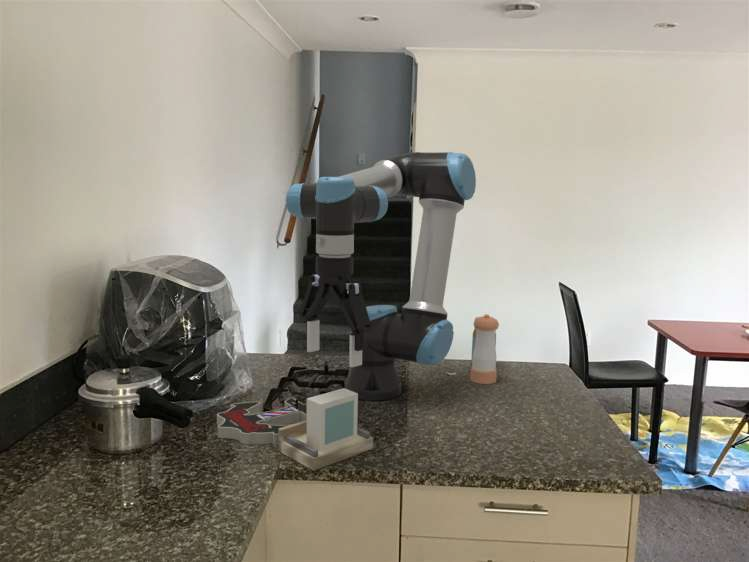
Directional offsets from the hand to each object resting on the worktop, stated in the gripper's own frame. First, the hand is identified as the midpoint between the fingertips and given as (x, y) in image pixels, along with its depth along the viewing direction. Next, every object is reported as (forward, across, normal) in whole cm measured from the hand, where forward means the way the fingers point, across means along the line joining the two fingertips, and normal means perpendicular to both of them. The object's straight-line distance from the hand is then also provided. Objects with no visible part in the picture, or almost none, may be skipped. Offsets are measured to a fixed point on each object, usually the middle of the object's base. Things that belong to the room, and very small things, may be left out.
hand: (333, 358), depth 136 cm
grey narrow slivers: (+21, -18, +74) cm, 79 cm away
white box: (+18, 0, 0) cm, 18 cm away
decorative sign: (+21, -21, +1) cm, 30 cm away
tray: (+21, -2, 0) cm, 21 cm away
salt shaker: (+21, -10, +64) cm, 68 cm away
